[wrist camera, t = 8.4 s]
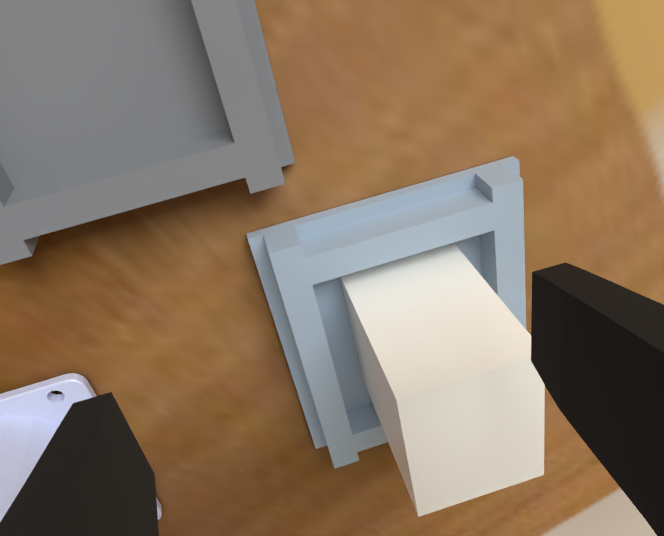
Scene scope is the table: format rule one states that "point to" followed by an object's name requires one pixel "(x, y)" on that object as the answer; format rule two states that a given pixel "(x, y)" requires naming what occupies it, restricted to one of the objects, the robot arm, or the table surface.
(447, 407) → the white rectangular block
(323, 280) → the rear socket
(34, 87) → the front socket
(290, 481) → the table surface
